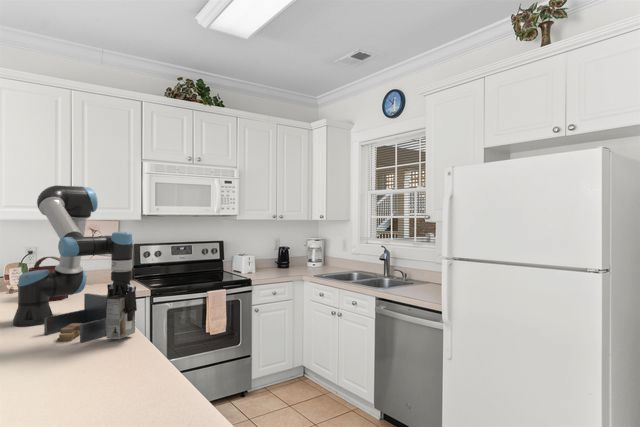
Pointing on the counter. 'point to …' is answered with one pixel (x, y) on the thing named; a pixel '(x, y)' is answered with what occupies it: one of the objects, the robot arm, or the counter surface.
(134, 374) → the counter surface
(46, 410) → the counter surface
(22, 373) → the counter surface
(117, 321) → the coffee box
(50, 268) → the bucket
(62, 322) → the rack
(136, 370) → the counter surface
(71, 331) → the offcut stack
